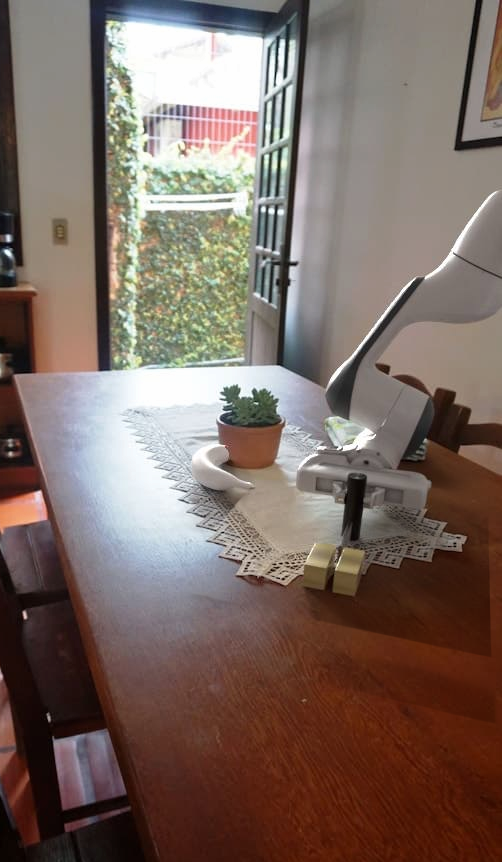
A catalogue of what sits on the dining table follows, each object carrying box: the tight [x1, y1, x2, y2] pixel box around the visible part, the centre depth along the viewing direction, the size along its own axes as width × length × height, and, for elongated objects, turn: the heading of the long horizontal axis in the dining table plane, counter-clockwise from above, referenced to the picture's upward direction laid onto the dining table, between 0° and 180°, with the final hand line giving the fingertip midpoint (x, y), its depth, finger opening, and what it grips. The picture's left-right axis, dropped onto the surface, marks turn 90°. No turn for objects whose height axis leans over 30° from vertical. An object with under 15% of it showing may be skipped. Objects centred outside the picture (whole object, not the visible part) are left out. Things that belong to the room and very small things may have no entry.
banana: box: [189, 444, 255, 491], centre depth 129 cm, size 5×19×15 cm
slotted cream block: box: [302, 541, 366, 597], centre depth 97 cm, size 23×11×4 cm, turn 160°
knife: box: [336, 472, 367, 565], centre depth 98 cm, size 12×3×10 cm, turn 160°
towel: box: [324, 416, 430, 462], centre depth 147 cm, size 18×21×5 cm
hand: (353, 501), depth 101 cm, fingers closed on knife, 3 cm apart
